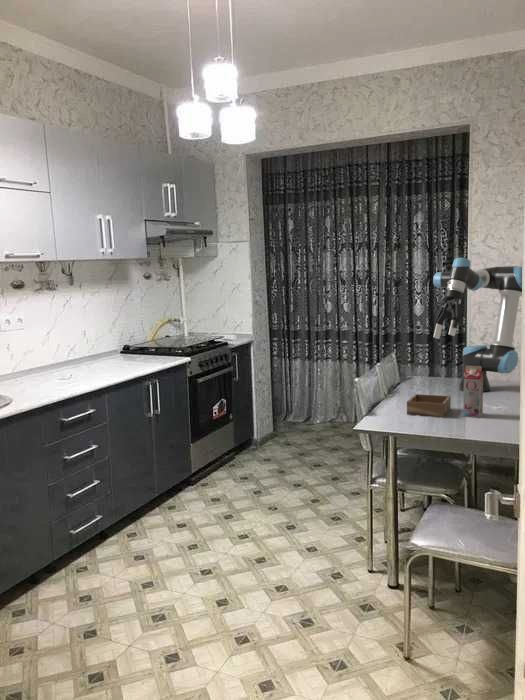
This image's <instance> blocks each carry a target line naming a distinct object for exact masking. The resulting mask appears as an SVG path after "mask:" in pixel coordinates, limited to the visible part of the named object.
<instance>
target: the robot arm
mask: <svg viewBox="0 0 525 700" xmlns="http://www.w3.org/2000/svg"><path fill="white" fill-rule="evenodd" d="M471 263H472V262H471V260H470V259H468V258H465V257H456V258H454V260H453V263H452V265H451V270H450V271H439V272H435V273H434V274H433V277H432V278H433V279H432V284H433V286H435V287H436V288H437V289H444V288H446V290H445V294H444V300H446V302H443V303H441V306H440V310H438V313H437V316H436V318H435V320H434V324H436V325H435V328H434V333H433V337H432V338H435V339H437V340H440V337H441V335H442V329H443V326H444V324H443V323H444V322H445V320H446V319H447V316H449V315H450V314H451V315H452V318H451V321H450V326H449V331H448V335H449V336H452V337H455V336H456V332H457V329H458V328H457V327H458V324H459V322H460V320H462V319H463V297H464V293H465V289H468V290H469V291H473V292H475V291H479V289H483V288H484V289H489V290H498V293H499V294H500V302H499V308H498V313H497V320H496V327H495V333H494V340H493V342H492V343H490V345H489V348H488V345H486V344H477V345H476V344H475V345H469V346H466V347H465V346H464V348H463V350H462V376H461V379H460V382H459V385H458V386H459V387H458V388H459V391H462V392H464V372H465V370H466V366H482V372H483V393H485V392H484V391H486V392H488V390H489V391H491V384H490V382H489V379H488V375H487V372H491V373H497V374H498V373H499V374H510V373H513V371H514V370H516V367H517V365H518V362H519V353H518V351H516V350H515V349H516V347H515V346H514V344H513V342H514V341H513V340H514V334H515V330H516V329H515V328H516V321H517V317H518V316H517V315H518V309H519V302H520V297H522V296H523V295H522V267H523V265H521V266H520V265H518V266H517V265H510V266H509V265H508V266H493V267H487V268H479V269H477V270H472V268H471Z"/></svg>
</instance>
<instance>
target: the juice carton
mask: <svg viewBox="0 0 525 700" xmlns="http://www.w3.org/2000/svg"><path fill="white" fill-rule="evenodd" d="M483 404H484V392H483V372H482V366H466V370H465V372H464V391H463V408H462V411H463V414H462V417H464V418H475V419H480V418H481V417H482V416H483V414H484V413H483V407H484V405H483Z"/></svg>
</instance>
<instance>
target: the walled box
mask: <svg viewBox="0 0 525 700" xmlns="http://www.w3.org/2000/svg"><path fill="white" fill-rule="evenodd" d="M451 402H452V401H451V396H450V395H449V396H447V395H438V394H437V395H434V394H422V393H421V394H420V393H414V395H412V396H411V398H409V399H408V400H407V401H406V415H407V414H411V415H410V416H416V415H420V416H419V417H428V416H434V417H433V418H440V417H444V416H445V417H446V415H447V414H448V413H449V412H450V411H451V408H452V407H451ZM435 416H436V417H435ZM445 417H444V418H445Z"/></svg>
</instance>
